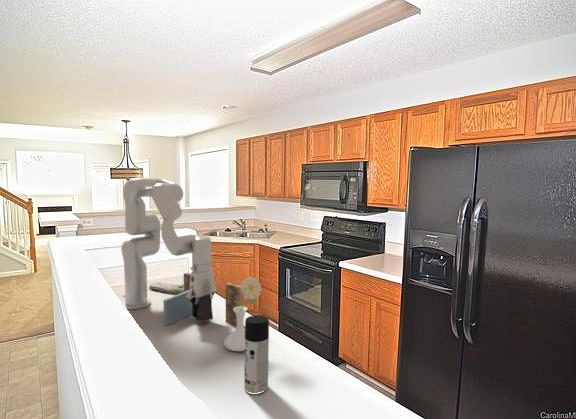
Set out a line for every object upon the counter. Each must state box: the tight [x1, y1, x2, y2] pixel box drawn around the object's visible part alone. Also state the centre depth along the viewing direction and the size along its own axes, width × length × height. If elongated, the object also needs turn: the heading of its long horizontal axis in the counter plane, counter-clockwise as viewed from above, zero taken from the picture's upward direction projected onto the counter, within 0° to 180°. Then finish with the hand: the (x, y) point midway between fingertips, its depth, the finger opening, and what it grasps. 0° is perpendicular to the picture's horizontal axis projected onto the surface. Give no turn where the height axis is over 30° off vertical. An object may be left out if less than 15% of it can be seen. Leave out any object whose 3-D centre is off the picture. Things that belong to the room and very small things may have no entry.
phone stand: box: [191, 294, 214, 323], centre depth 142 cm, size 9×6×12 cm, turn 31°
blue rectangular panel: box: [163, 290, 192, 326], centre depth 146 cm, size 20×2×10 cm, turn 155°
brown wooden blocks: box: [183, 272, 244, 326], centre depth 148 cm, size 35×2×16 cm, turn 55°
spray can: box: [243, 315, 270, 393], centre depth 96 cm, size 7×7×20 cm
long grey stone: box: [149, 281, 184, 295], centre depth 181 cm, size 35×5×10 cm
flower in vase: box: [223, 276, 262, 352], centre depth 120 cm, size 13×11×25 cm
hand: (202, 309), depth 142 cm, fingers closed on phone stand, 6 cm apart
